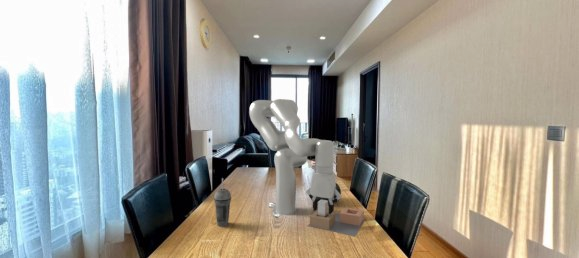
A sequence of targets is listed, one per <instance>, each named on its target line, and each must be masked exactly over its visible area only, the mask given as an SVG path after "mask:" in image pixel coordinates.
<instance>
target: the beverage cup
mask: <svg viewBox="0 0 579 258" xmlns="http://www.w3.org/2000/svg"><path fill="white" fill-rule="evenodd" d="M213 200H214V206H215V216H216V225H217V226H218V227H221V228H222V227H223V228H224V227H227V226H229V219H230V207H231V202H232V195H231V192H230V191H229V189H227V188H224V177H222V178H221V188H219V189H218V190H217V191H216V192H215V193H214V198H213Z"/></svg>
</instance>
